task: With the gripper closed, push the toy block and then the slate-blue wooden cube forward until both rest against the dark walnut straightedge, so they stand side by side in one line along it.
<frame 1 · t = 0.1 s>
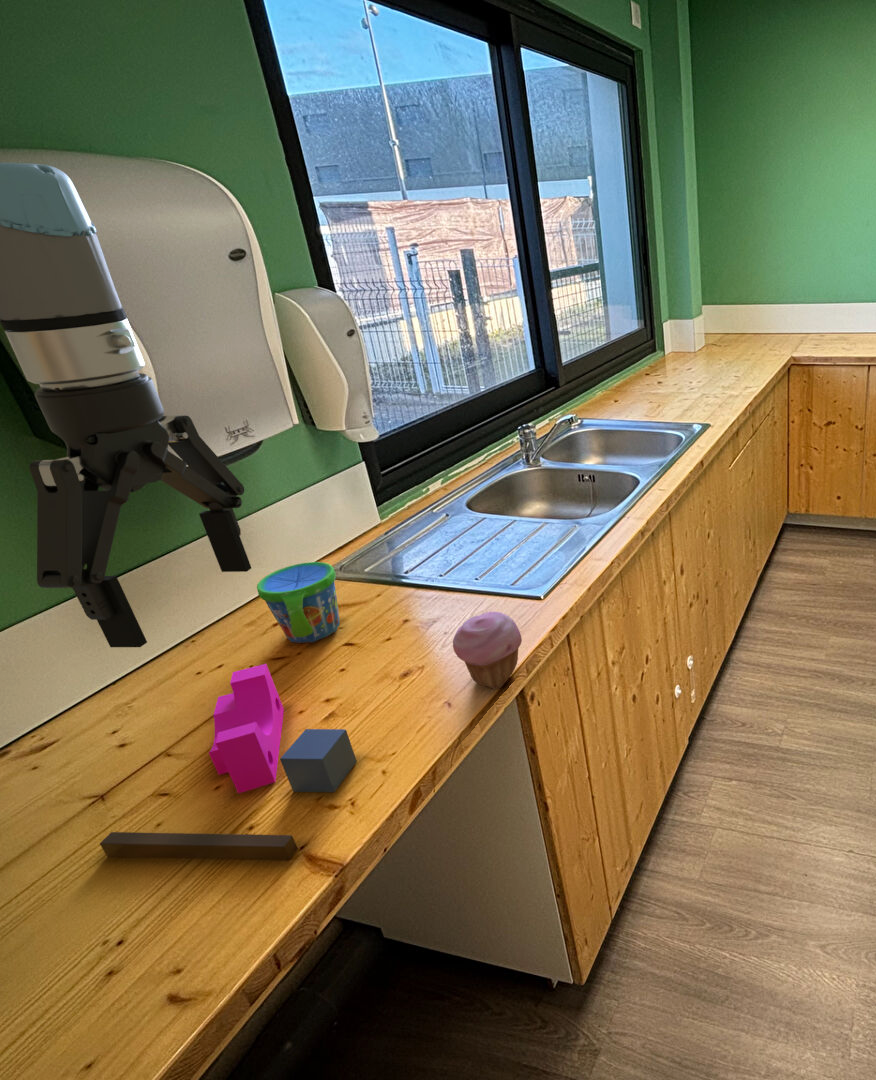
hand: (188, 604, 66), 27 cm above the countertop, tool pointing down, fingers open, 13 cm apart
cupcake: (496, 679, 99), on the countertop
snack cup: (315, 633, 112), on the countertop
toy block: (252, 752, 87), on the countertop
straightedge: (202, 852, 73), on the countertop
cube: (325, 776, 83), on the countertop
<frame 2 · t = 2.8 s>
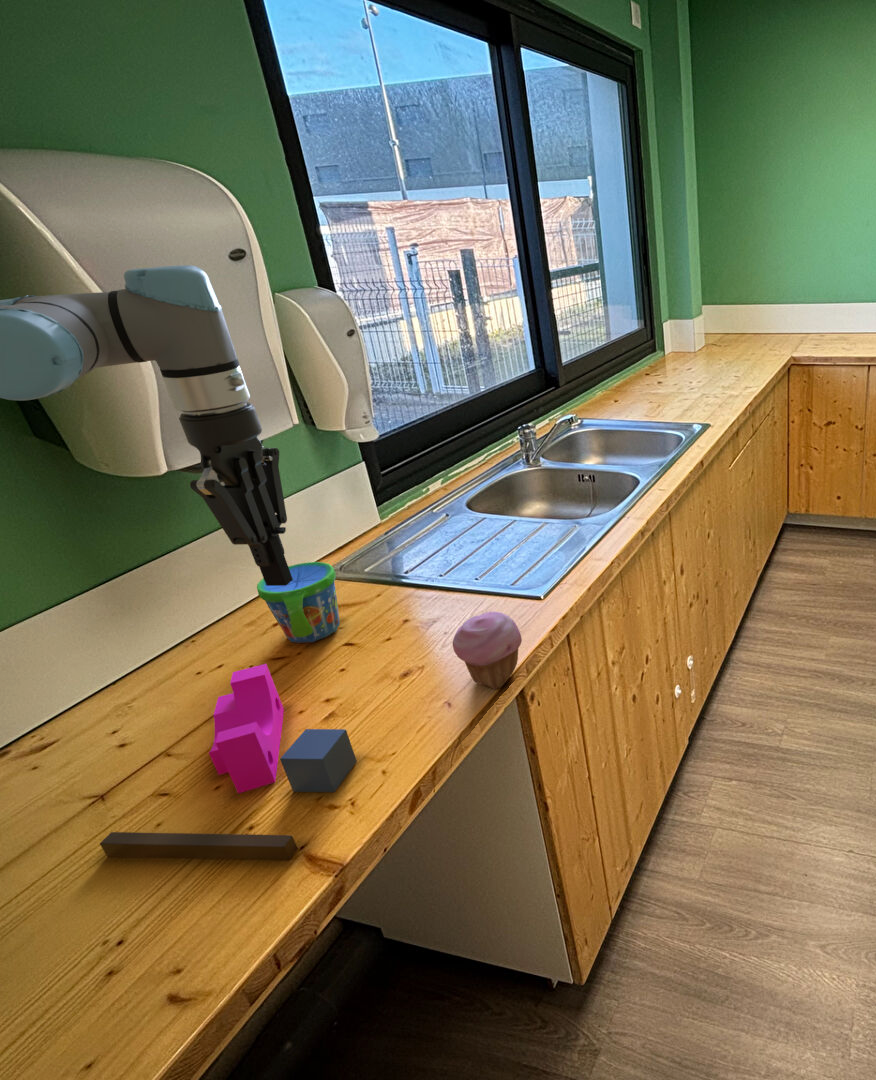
hand: (279, 582, 92), 16 cm above the countertop, tool pointing down, fingers closed
nothing on the countertop moved.
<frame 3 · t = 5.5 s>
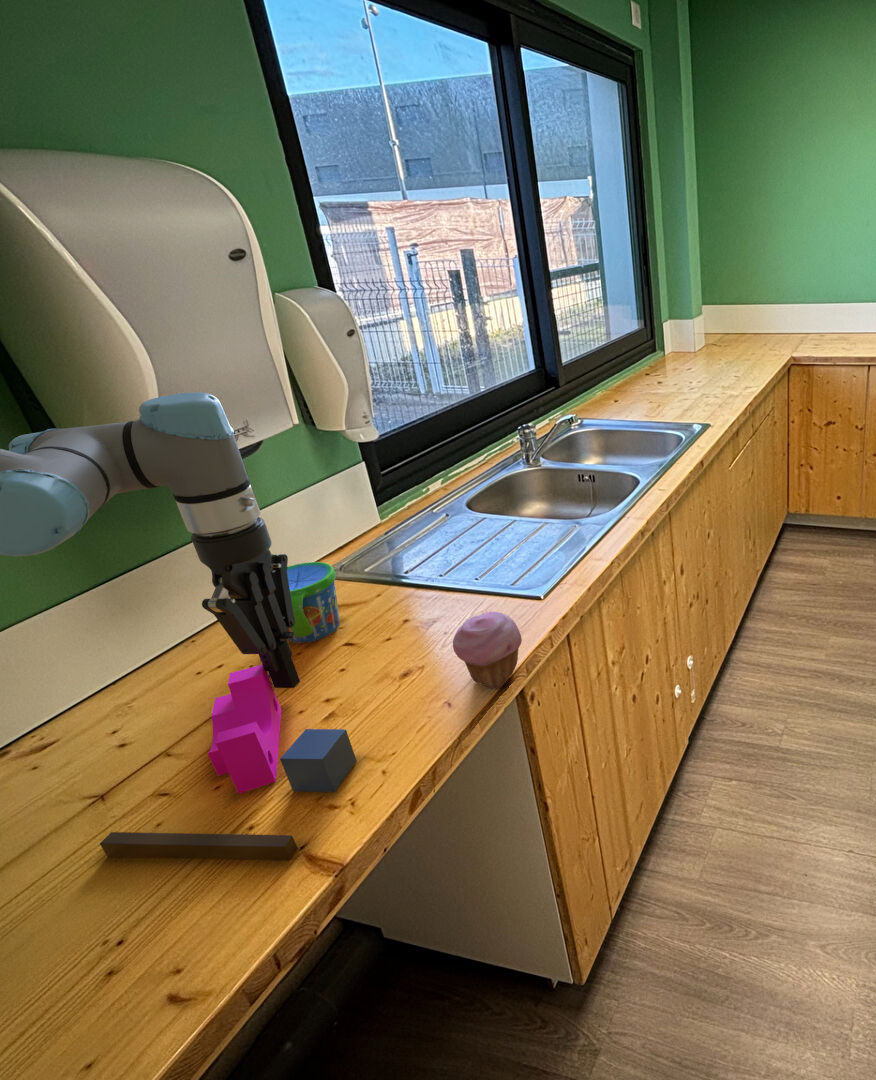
hand: (287, 684, 94), 3 cm above the countertop, tool pointing down, fingers closed
toy block: (250, 753, 87), on the countertop, touching gripper
everything else where it was.
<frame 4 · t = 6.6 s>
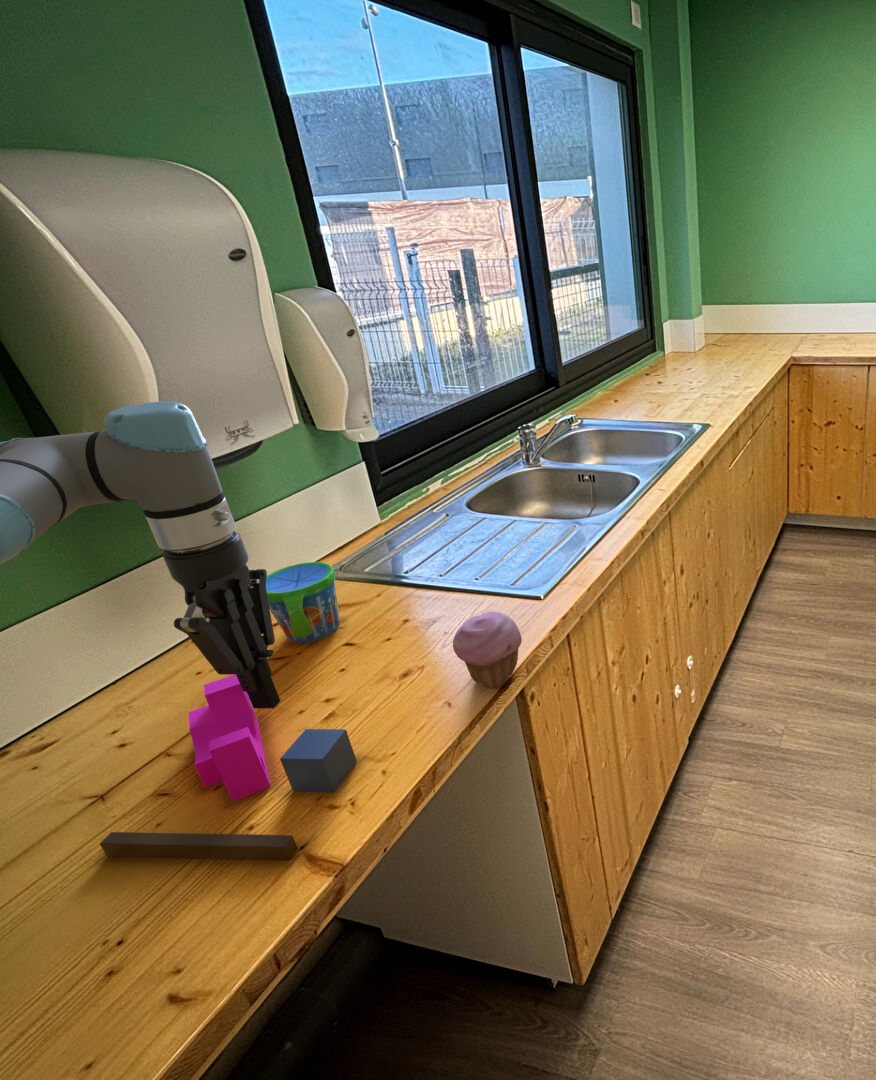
hand: (267, 704, 90), 3 cm above the countertop, tool pointing down, fingers closed
toy block: (234, 763, 85), on the countertop, touching gripper
everything else where it was.
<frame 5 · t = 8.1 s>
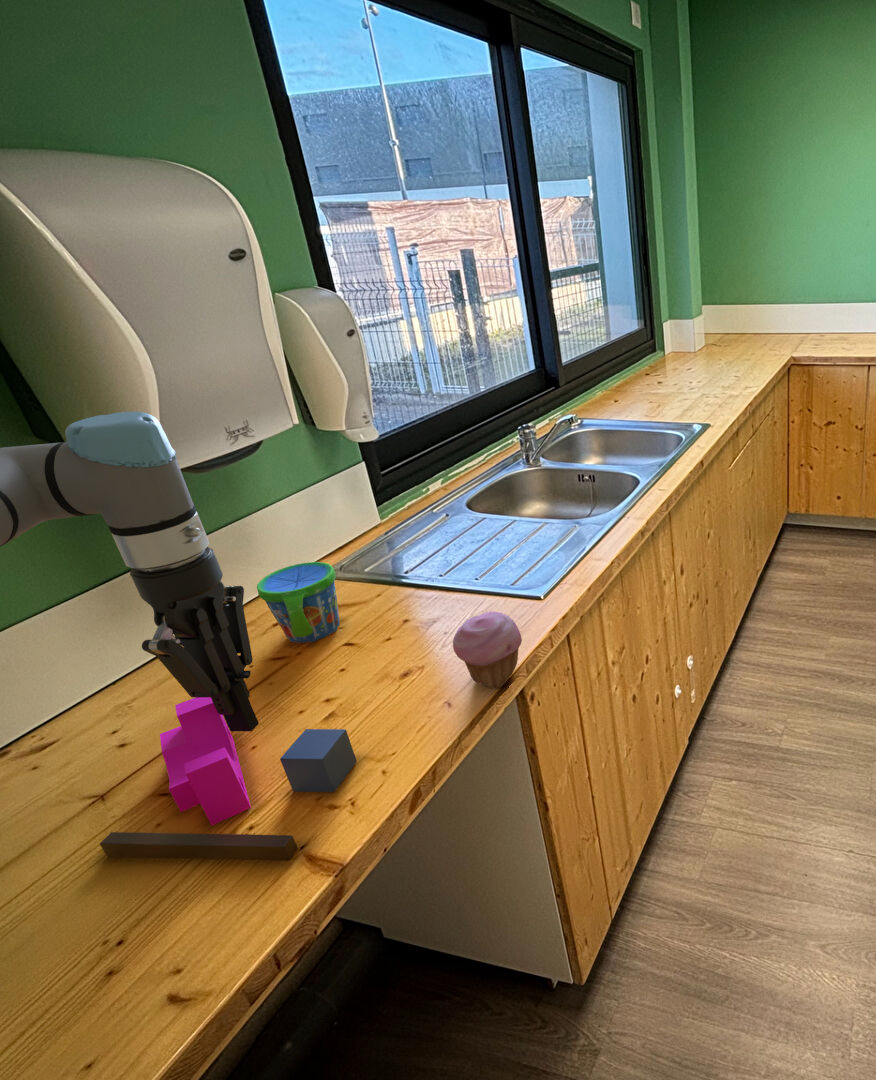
hand: (244, 727, 86), 4 cm above the countertop, tool pointing down, fingers closed
toy block: (211, 785, 82), on the countertop, touching gripper
everything else where it was.
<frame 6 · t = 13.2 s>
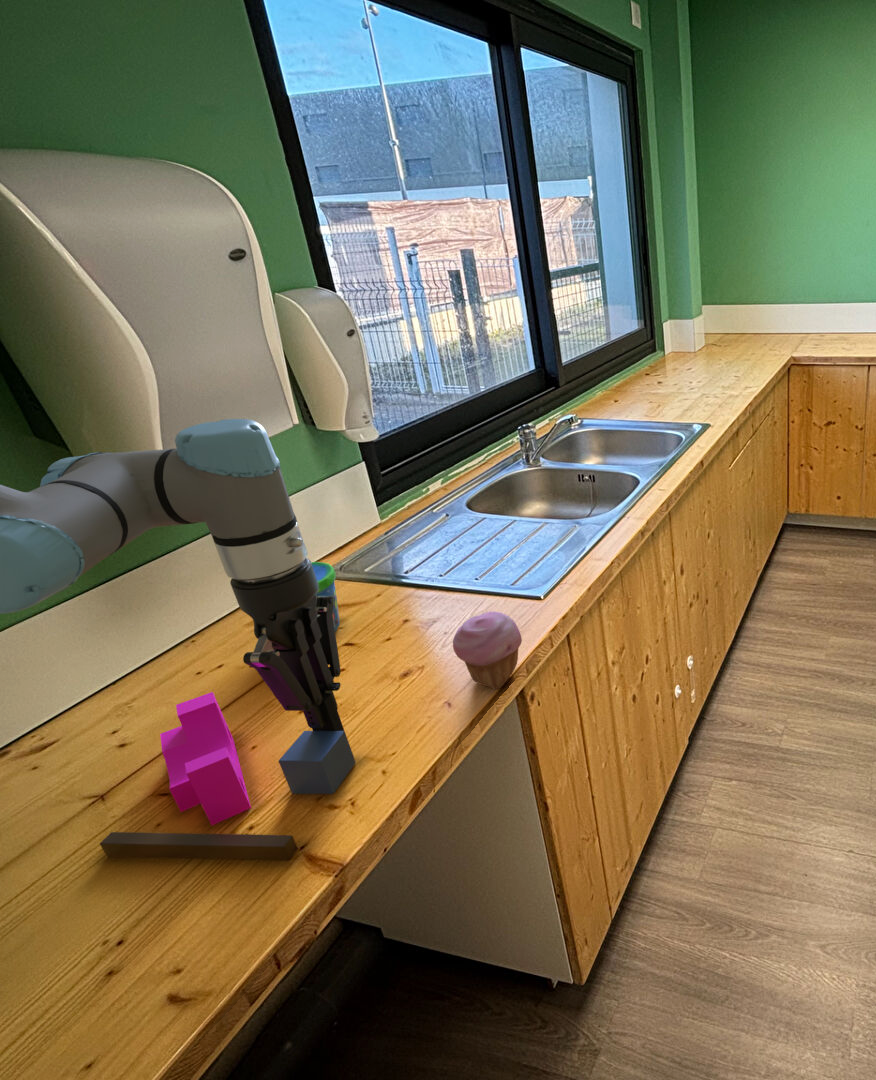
hand: (332, 740, 84), 3 cm above the countertop, tool pointing down, fingers closed
toy block: (211, 785, 82), on the countertop
cube: (324, 778, 82), on the countertop, touching gripper
everything else where it was.
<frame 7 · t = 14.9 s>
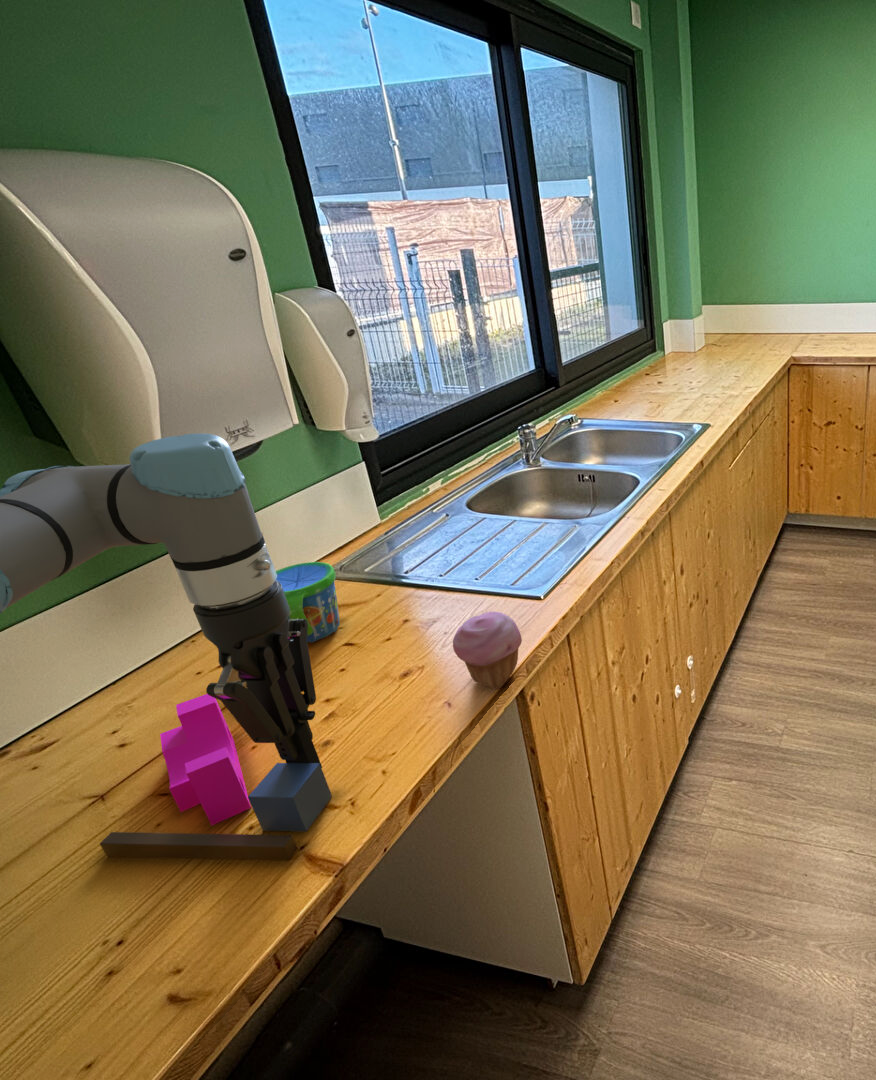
hand: (307, 771, 79), 3 cm above the countertop, tool pointing down, fingers closed
cube: (298, 813, 78), on the countertop, touching gripper
everything else where it was.
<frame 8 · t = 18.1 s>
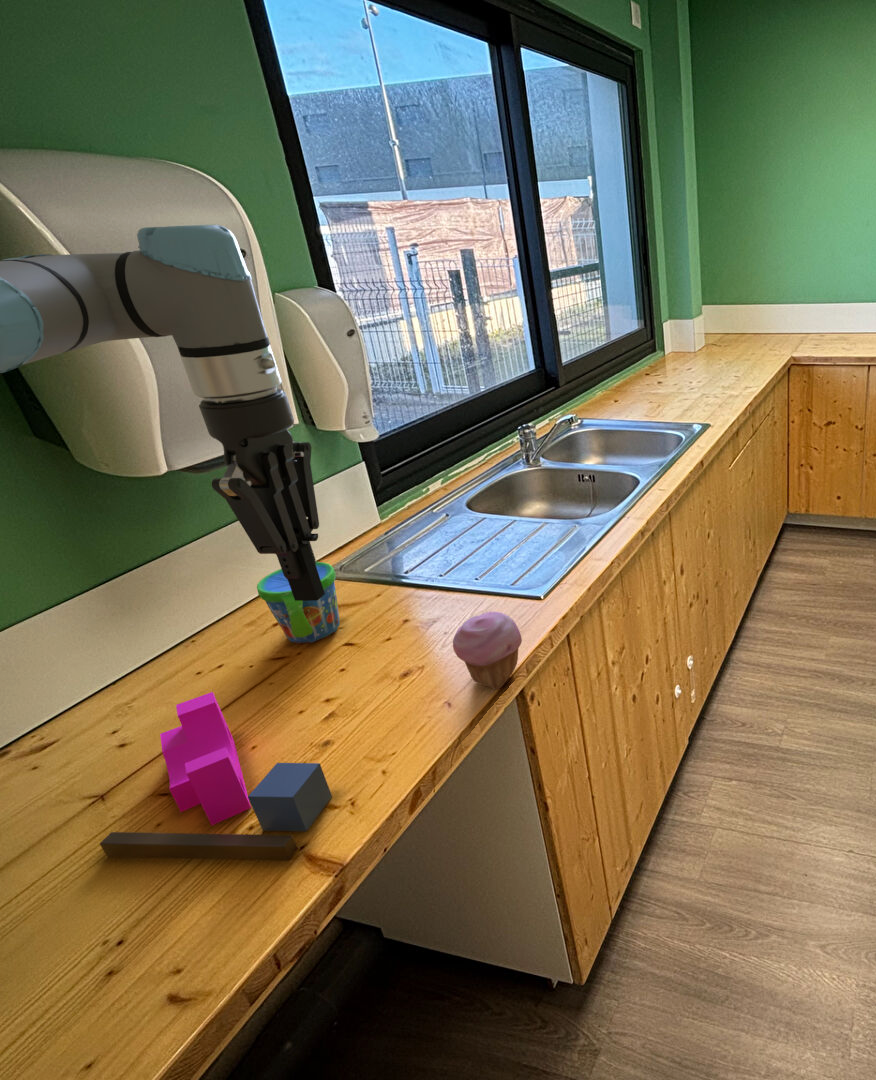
hand: (310, 597, 80), 20 cm above the countertop, tool pointing down, fingers closed
cube: (298, 813, 78), on the countertop
everything else where it was.
at the end: toy block inside the target area (1.4 cm from its centre), on the countertop; cube inside the target area (1.2 cm from its centre), on the countertop; cube tilted 0° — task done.
